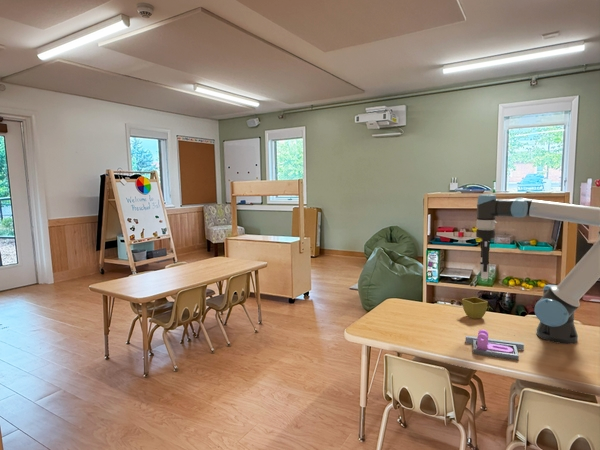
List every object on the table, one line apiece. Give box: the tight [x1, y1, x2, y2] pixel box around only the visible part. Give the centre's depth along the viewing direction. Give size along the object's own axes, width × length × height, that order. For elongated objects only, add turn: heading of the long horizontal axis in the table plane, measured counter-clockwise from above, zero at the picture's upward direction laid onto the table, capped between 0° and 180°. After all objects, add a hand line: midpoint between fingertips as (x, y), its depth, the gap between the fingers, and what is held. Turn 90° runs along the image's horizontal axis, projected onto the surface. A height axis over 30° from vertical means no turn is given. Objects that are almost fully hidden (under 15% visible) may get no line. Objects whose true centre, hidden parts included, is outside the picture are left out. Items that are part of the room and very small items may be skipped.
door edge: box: [465, 335, 525, 351], centre depth 162 cm, size 22×2×2 cm, turn 66°
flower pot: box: [461, 296, 489, 320], centre depth 194 cm, size 9×9×9 cm
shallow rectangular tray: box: [472, 340, 520, 362], centre depth 156 cm, size 16×10×2 cm, turn 67°
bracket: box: [476, 329, 513, 354], centre depth 156 cm, size 13×6×7 cm, turn 61°
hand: (483, 275), depth 174 cm, fingers open, 13 cm apart
